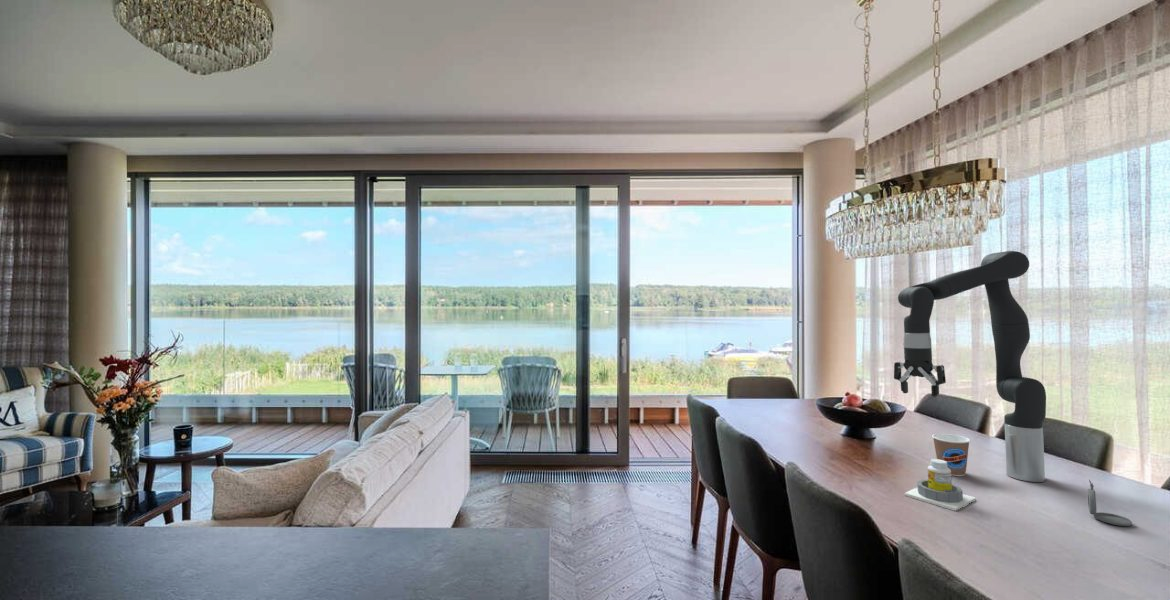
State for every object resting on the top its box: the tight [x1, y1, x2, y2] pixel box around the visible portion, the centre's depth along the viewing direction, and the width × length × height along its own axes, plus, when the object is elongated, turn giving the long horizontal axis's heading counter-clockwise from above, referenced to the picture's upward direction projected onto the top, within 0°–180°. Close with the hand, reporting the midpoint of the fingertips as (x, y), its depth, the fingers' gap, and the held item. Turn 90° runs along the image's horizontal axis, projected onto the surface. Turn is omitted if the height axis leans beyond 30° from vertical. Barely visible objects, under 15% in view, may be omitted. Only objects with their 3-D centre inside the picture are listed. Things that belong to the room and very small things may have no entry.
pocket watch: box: [1087, 479, 1133, 527], centre depth 122 cm, size 8×8×10 cm
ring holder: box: [904, 479, 977, 512], centre depth 138 cm, size 13×13×4 cm
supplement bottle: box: [927, 458, 953, 492], centre depth 138 cm, size 6×6×10 cm
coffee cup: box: [931, 433, 971, 477], centre depth 158 cm, size 10×10×12 cm
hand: (919, 394), depth 153 cm, fingers open, 8 cm apart
